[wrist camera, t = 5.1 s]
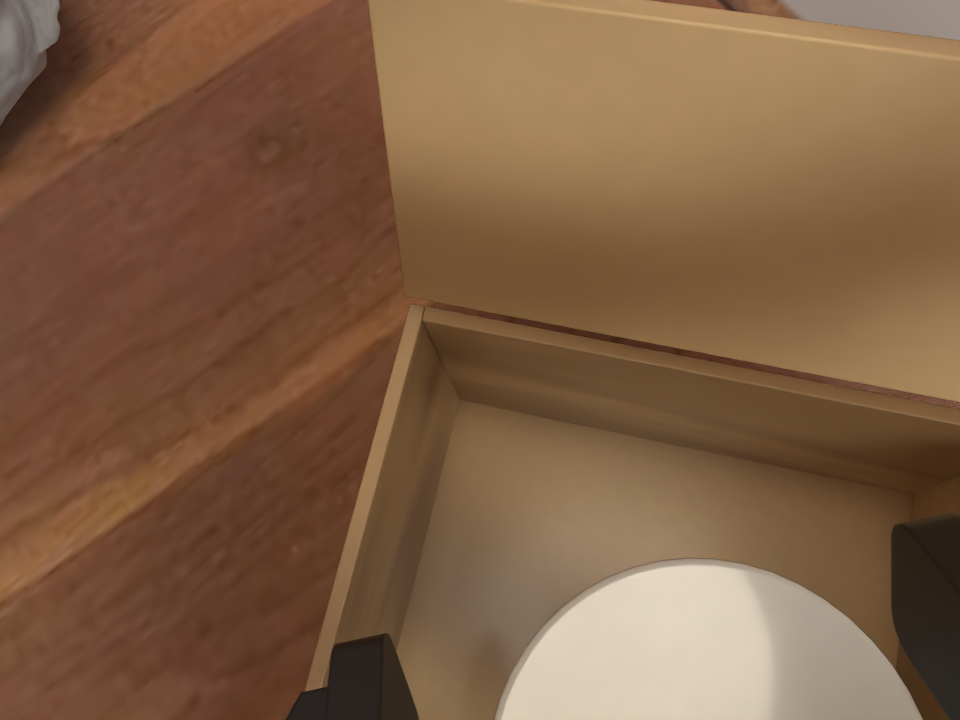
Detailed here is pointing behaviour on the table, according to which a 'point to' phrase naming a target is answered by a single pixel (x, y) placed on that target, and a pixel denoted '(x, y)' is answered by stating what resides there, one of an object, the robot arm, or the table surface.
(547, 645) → the canister
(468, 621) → the wooden box
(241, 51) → the table surface
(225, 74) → the table surface
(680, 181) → the flap
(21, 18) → the seahorse
